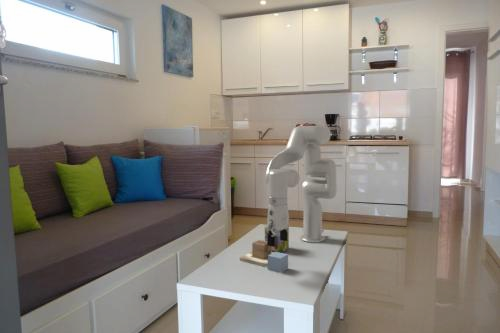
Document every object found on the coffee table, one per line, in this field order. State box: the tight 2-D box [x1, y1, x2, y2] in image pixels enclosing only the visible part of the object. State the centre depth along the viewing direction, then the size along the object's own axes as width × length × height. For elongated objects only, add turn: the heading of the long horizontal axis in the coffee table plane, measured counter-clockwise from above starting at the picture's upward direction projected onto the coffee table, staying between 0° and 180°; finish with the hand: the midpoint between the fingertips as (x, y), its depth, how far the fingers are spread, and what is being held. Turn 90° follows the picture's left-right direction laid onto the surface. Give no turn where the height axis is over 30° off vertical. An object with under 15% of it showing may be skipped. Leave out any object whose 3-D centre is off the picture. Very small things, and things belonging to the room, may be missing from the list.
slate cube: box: [267, 251, 289, 274], centre depth 151 cm, size 6×6×6 cm
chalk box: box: [264, 227, 290, 253], centre depth 177 cm, size 9×9×15 cm
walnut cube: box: [251, 239, 272, 259], centre depth 163 cm, size 6×6×6 cm
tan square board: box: [239, 251, 274, 268], centre depth 163 cm, size 14×14×2 cm
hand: (277, 243), depth 150 cm, fingers open, 9 cm apart
